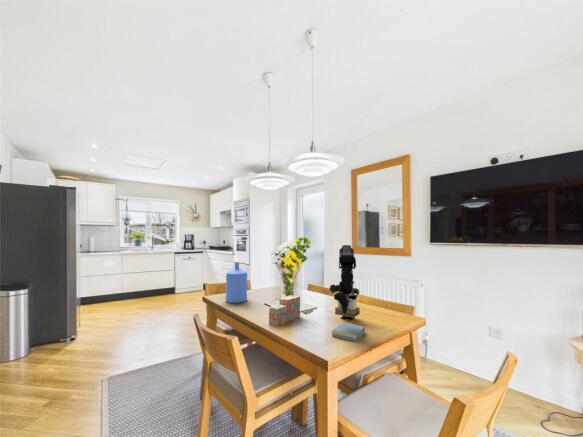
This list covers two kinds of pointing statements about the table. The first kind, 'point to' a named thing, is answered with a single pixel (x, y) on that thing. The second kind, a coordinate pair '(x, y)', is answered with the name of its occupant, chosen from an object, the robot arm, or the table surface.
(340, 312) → the pallet
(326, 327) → the table surface
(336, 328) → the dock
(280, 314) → the stack of blocks
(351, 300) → the off-white carton
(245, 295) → the water jug
